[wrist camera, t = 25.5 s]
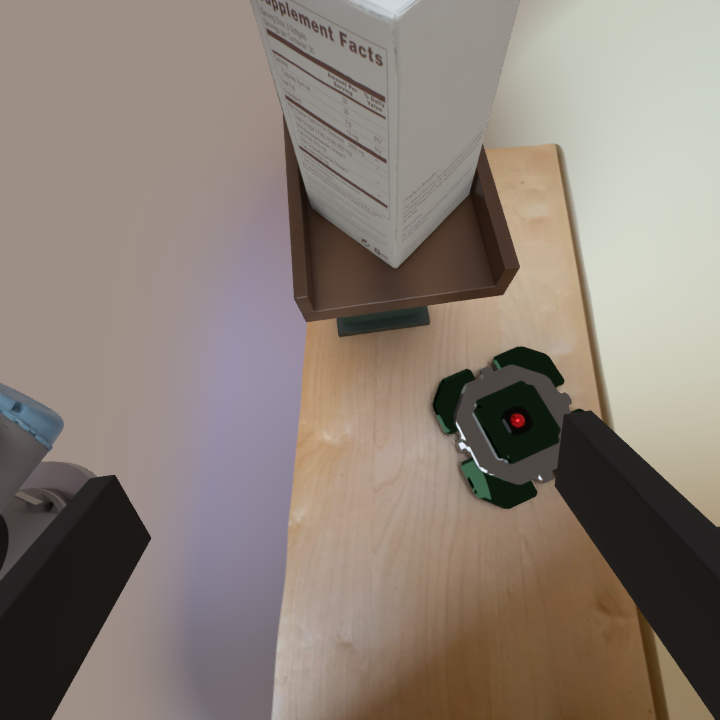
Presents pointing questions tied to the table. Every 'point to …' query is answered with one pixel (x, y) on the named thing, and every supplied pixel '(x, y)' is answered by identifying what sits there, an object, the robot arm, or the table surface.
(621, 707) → the table surface
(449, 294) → the door shelf
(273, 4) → the white packaging box
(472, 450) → the four-lobed dark green device
